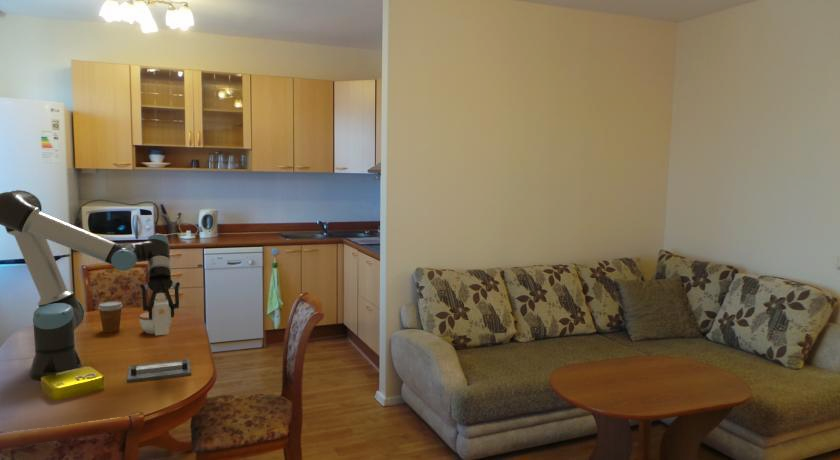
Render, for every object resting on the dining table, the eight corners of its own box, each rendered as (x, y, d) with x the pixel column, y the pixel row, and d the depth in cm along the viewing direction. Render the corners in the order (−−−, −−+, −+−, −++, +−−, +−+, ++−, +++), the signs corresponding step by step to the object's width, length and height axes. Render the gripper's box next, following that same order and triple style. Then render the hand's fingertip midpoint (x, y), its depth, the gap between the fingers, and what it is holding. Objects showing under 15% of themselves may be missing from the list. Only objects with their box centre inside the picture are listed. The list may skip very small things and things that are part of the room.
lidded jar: (159, 335, 243) (159, 314, 242) (135, 334, 243) (134, 313, 242) (171, 328, 253) (170, 308, 252) (147, 327, 254) (147, 307, 253)
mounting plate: (126, 382, 190) (126, 374, 190) (129, 368, 203) (129, 361, 203) (190, 374, 199) (190, 367, 198) (189, 362, 211) (189, 354, 211)
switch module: (169, 334, 200) (168, 304, 198) (155, 336, 198) (154, 305, 196) (168, 327, 208) (167, 298, 206) (154, 328, 206) (154, 299, 204)
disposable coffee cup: (94, 331, 246) (93, 304, 245) (114, 326, 255) (113, 300, 254) (107, 334, 242) (106, 307, 241) (128, 329, 250) (127, 302, 249)
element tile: (90, 377, 196) (89, 363, 195) (106, 389, 186) (106, 375, 185) (39, 389, 184) (38, 375, 184) (54, 402, 175) (53, 387, 174)
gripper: (184, 275, 218) (188, 328, 206) (133, 277, 211) (134, 333, 198) (185, 263, 213) (189, 318, 200) (133, 266, 205) (133, 322, 193)
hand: (162, 325), depth 199 cm, fingers closed on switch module, 4 cm apart
